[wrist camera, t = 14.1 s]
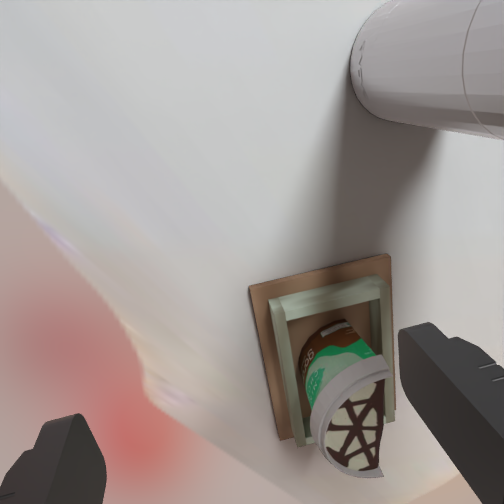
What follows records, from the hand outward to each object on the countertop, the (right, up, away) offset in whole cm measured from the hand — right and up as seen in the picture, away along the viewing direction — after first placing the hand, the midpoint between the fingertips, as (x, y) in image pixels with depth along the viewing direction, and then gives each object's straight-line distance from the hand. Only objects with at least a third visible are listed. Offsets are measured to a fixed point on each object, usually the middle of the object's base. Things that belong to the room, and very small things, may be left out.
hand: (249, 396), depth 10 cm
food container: (+7, -8, +32) cm, 34 cm away
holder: (+8, -7, +33) cm, 35 cm away
